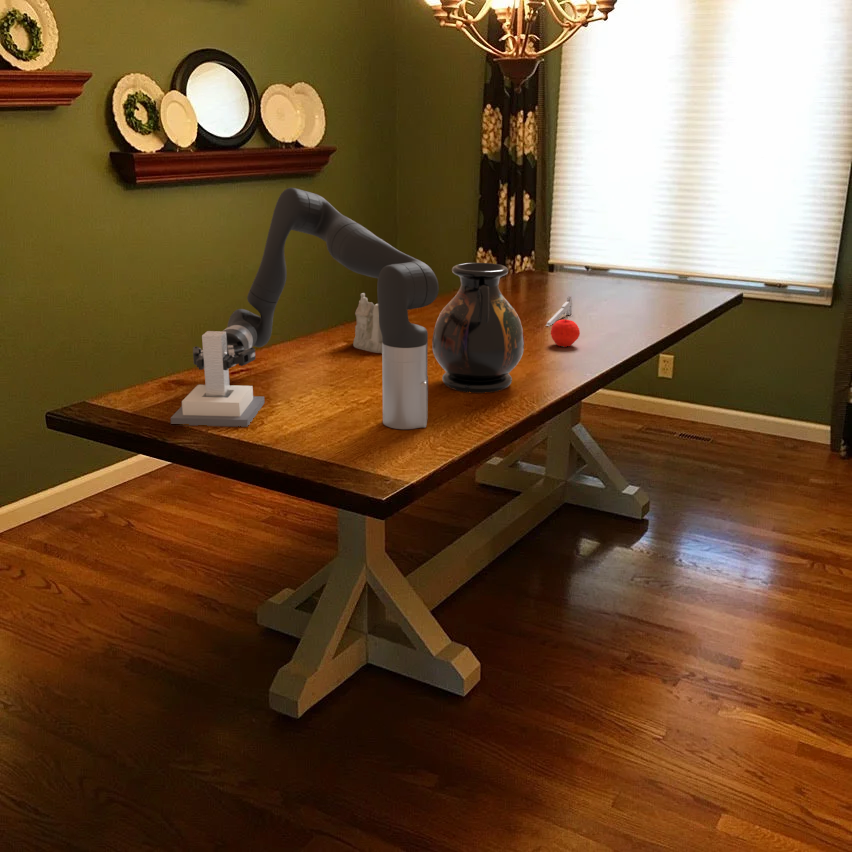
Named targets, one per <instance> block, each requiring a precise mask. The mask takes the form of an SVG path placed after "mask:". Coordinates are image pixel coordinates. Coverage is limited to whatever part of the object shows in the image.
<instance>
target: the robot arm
mask: <svg viewBox="0 0 852 852" xmlns="http://www.w3.org/2000/svg"><path fill="white" fill-rule="evenodd" d="M274 206H275V207H274V210H273V214H272V216H271V217H272V218H271V221H270V226H269V229H268V233H267V238H266V241H265V247H264V250H263V255H262V258H261V261H260V264H259V267H258V270H257V272H256V274H255V277H254V279H253V282H252V284H251V286H250V288H249V291H248V294H247V296H246V299H247V302H248V303H249V304H250V305H251V306H252V308H254V309H255V310H256V311H257V312H258V313H259V315H260V316H259V315H258V314H256V313H253V312H251V311H249V310H248V309H246V308H245V309H244V308H238V309H235V311H233V313H231V315H230V316H229V319H228V322H227V327H226V328H225V329H223V330H222V331H225V332H226V338H227V353H228V356H227V357H226V358H225V359H224V360H223V370H228V369H231V368H232V367H235V366H236V365H238V366H240V367H243V366H245V365H248V364H249V363H251V362H253V361H255V360H256V349H255V347H256V348H262V347H264V346H266V345H267V344H268V342H269V341H270V339H271V337H272V332H273V323H274V315H275V310H276V307H277V304H278V302H279V300H280V297H281V295H282V292H283V291H284V289H285V285H286V282H287V276H288V275H287V264H286V256H285V245H286V241H287V238H288V236H289V234H290V233H291V231H296V232H299V233H304V234H307V235H311V236H315V237H317V238H319V239H321V240H322V241H324V242H325V244H326V248H327V251H328V252H329V255H330V256H331V257H332V258H333V259H334V260H335V261H336V262H338V263H339V264H340V265H342V266H343V267H345V268H346V269H348V270H349V271H352V272H353V273H356V274H358V275H359V274H360V275H362V276H366V277H369V278H375V279H377V286H376V288H377V289H376V291H377V292H376V293H377V304H378V310H379V325H380V330H381V333H382V353H381V354H382V355H381V357H382V361H381V363H382V366H381V367H382V368H381V370H382V371H381V372H382V379H381V380H382V381H381V382H382V424H383V425H384V426H385V427H388V428H391V429H396V430H415V429H419V428H426V427H427V424H428V415H429V414H428V413H429V411H428V403H429V402H428V401H429V398H428V397H429V375H428V342H429V341H428V335H429V333H428V329H427V328H426V327H424V326H422V325H419V324H415V323H412V322H410V319H409V313H408V311H409V310H414V309H421V308H423V307H427V306H429V305H431V304H432V303H434V302H435V300H436V299H437V297H438V295H439V291H440V290H439V289H440V288H439V287H440V286H439V281H438V278H437V276H436V274H435V272H434V271H433V270H432V268H431V267H430V266H429V265H428V264H426V263H425V262H423V261H421V260H420V259H417V258H415V257H413V256H411V255H409V254H406V253H404V252H402V251H400V249H399V250H398V249H397V248H396V247H394V246H392V245H391V244H390V243H388V242H386V241H385V240H384V239H382V238H380V237H379V236H377V235H376V234H374V233H373V232H372V231H370V230H369V229H368V228H367V227H364V226H363V225H362V224H360V223H358V222H356V221H355V220H354V219H353V220H352V219H351V218H349V217H348V216H346V215H344V214H342V213H341V212H339V211H338V210H337V209H336V208H335V207H334V206H333V205H332V204H331V203H330V202H329V201H328V200H327V199H325V198H324V196H321V195H319V194H317V193H313V192H311V191H306V190H303V189H300V188H296V187H288V188H286V189H284V190H283V191H282V192H281V193H280V194H279V197H278V198H277V200H276V204H275V205H274ZM192 357H193V365H195V366H196V368H198V370H200V371H201V370H204V357H203V349H202V348H201V347H199V346H196V345H195V346H194V347H192Z"/></svg>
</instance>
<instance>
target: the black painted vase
mask: <svg viewBox="0 0 852 852" xmlns="http://www.w3.org/2000/svg"><path fill="white" fill-rule="evenodd" d="M451 271H452V273H453V274H454V275H455V276H458V277H459V279H460V280H459V281H460V287H459V289H458V291H457V293H456V294H455V296H454V297H452V298H451V300H450V301H448V303H447V304H446V305H445V306H444V307H443V308H442V310H441V311H440V312H439V315H438V317H437V320H436V322H435V324H434V325H435V326H434V327H433V328H434V329H433V335H432V339H431V342H432V343H431V344H432V348H431V349H432V353H433V356H434V358H435V359H436V362H437V363H438V364H439V365H440V367H441V368H442V369H443V370H444V374H443V375H442V378H441V379H442V382H443V384H445V386H446V387H448V388H450V389H451V390H455V391H458V392H462V391H463V393H469V392H471V394H486V393H485V392H490V393H495V391H496V392H499V390H500V391H503V390H505V389H506V388H508V387H509V386H511V384H512V383H513V382H512V381H513V378H512V376H511V375H510V373H511V372H512V371H513V369H515V367H517V365H518V364H519V362H520V361H521V360H522V357H523V354H524V351H525V350H524V349H525V337H524V330H523V326H522V322H521V319H520V317H519V315H518V313H517V311H516V310H515V308H514V307H513V306H512V305H511V304H510V302H509V301H508V300H507V299H506V298H505V296H504V295H503V294H502V292H501V290H500V288H499V287H500V286H499V284H500V280H501V279H500V278H502V277H504V276H506V275H508V273H509V269H508V267H506V266H505V265H502V264H499V263H490V262H466V263H459V264H456V265H454V266H453V267H452V268H451Z"/></svg>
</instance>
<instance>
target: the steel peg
mask: <svg viewBox="0 0 852 852" xmlns="http://www.w3.org/2000/svg"><path fill="white" fill-rule="evenodd" d="M201 340H202V350H203V357H204V369H203V370H204V380H205V381H204V382H205V384H204V385H206V397H220V398H228V397H229V396H230V373H229V372H230V371H229V369H230V368H229V369H228V370H223V360H224V359H225V358H226V357H227V356H228V353H227V338H226V332H225V331H223V330H222V331H219V330H218V331H215V330H207V331H206V332H205V333H203V334H202V335H201Z"/></svg>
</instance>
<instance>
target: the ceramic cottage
mask: <svg viewBox="0 0 852 852" xmlns="http://www.w3.org/2000/svg"><path fill="white" fill-rule="evenodd" d="M354 315H355V317H356V319H355V320H356V325H355V326H354V329H355V330H354V333H355V334H354V335H355V337H354V339H353V345H352V346H353V347H354V348H355V349H359V350H363V351H366V352H370V353H374V354H375V353H376V354H382V333H381V330H380V325H379V310H378V303H376V304H374V303H373V302H372V301H371V302H370V301H368V297H366V293H365V292H362V293H360V300H359V301H358V305H357V307H356V310H355V313H354Z"/></svg>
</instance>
